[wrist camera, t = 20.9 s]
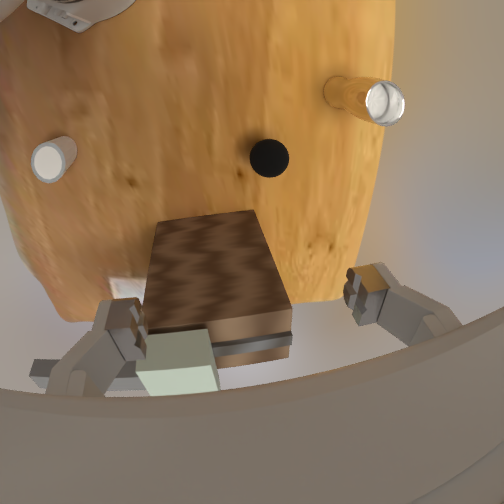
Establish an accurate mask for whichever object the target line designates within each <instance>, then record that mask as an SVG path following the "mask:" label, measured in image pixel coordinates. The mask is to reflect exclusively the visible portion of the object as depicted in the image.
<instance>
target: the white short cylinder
mask: <svg viewBox="0 0 504 504" xmlns="http://www.w3.org/2000/svg"><path fill="white" fill-rule="evenodd" d="M76 156H77V146H76V143H75V142H74V140H73V139H71V138H70V137H67V136H62V137H59V138H56V139H53V140H50V141H47V142H45V143H42V144H40V145H39V146H38V147H37V148H36V149H35V150H34V152H33V154H32V157H31V166H32V170H33V173H34V174H35V175H36V177H37V178H38V179H39V180H41V181H42V182H46V183H52V182H56V181H57V180H58V179H59V178H61V177H62V175H63V174H64V173H65V172H66V170H67V169H68V168H69V167H70V165H71V164H72V163H73V162H74V160H75V158H76Z"/></svg>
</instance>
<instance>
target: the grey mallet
mask: <svg viewBox="0 0 504 504" xmlns="http://www.w3.org/2000/svg"><path fill="white" fill-rule="evenodd" d="M144 341H145V343H146V345H147V350H146V359H145V360H134V361H125V362H126V363H125V364H124V365H123V367H122V368H121V370H120V371H119V373H118V374H117V376H116V377H115V379H114V380H113V382H112V383H111V385H110V386H109V388H108V389H107V391H118V390H119V391H122V390H147V391H148V392H149V394H150V396H166V395H181V394H192V393H203V392H212V391H220V382H219V375H218V371H217V367H216V363H215V359H214V355H213V350H212V346H211V342H210V338H209V333H208V329H200V330H192V331H183V332H174V333H165V334H154V335H148V337H147V338H146V339H145V340H144ZM59 361H60V360H46V359H44V360H43V359H42V360H41V359H34V362H33V365H32V368H31V371H30V375H29V377H30V378H31V379H33V381H34V382H35V383H36V384H37V385H38V386H39V387H40V388H46V389H47V385H48V381H49V377H50V373H51V370H52V368H53V367H54V366H55V365H56V364H57V363H58V362H59Z"/></svg>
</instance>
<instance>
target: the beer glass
mask: <svg viewBox="0 0 504 504" xmlns="http://www.w3.org/2000/svg"><path fill="white" fill-rule="evenodd" d="M324 97H325V99H326V101H327V102H328V104H329V105H331V106H332V107H334V108H338V109H346V110H347V111H348V112H350V113H351V114H352V115H354V116H356V117H357V118H359V119H361V120H364V121H367V122H370V123H373V124H378V125H380V126H391V125H394V124H395V123H397V122H398V121H399V120H400V118H401V117H402V115H403V112H404V108H405V101H404V96H403V94H402V92H401V90H400V88H399V87H398V86H397V85H396V84H394V83H392V82H390V81H386V80H382V79H379V78H374V77H357V78H352V79H347V78H344V77H341V76H336V77H332V78H331V79H329V80H328V81H327V82H326V84H325V86H324Z"/></svg>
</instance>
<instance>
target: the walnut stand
mask: <svg viewBox="0 0 504 504" xmlns="http://www.w3.org/2000/svg"><path fill="white" fill-rule="evenodd" d="M142 312H143V313H145V316H146V319H147V323H148V335H154V334H165V333H174V332H183V331H192V330H200V329H208V333H209V338H210V342H211V346H212V350H213V355H214V359H215V363H216V367H217V369H220V368H228V367H236V366H242V365H249V364H255V363H261V362H267V361H273V360H278V359H283V358H288V357H289V346H290V345H292V333H291V322H292V306H291V303H290V301H289V298H288V296H287V293H286V290H285V288H284V285H283V283H282V280H281V278H280V275H279V272H278V270H277V267H276V265H275V262H274V260H273V257H272V255H271V252H270V250H269V247H268V244H267V242H266V239H265V237H264V234H263V232H262V229H261V227H260V224H259V222H258V219H257V217H256V214H255V212H254V210H247V211H239V212H230V213H222V214H214V215H206V216H199V217H191V218H184V219H177V220H170V221H163V222H158V224H157V229H156V234H155V238H154V243H153V248H152V254H151V259H150V264H149V270H148V276H147V282H146V288H145V294H144V301H143V307H142Z"/></svg>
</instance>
